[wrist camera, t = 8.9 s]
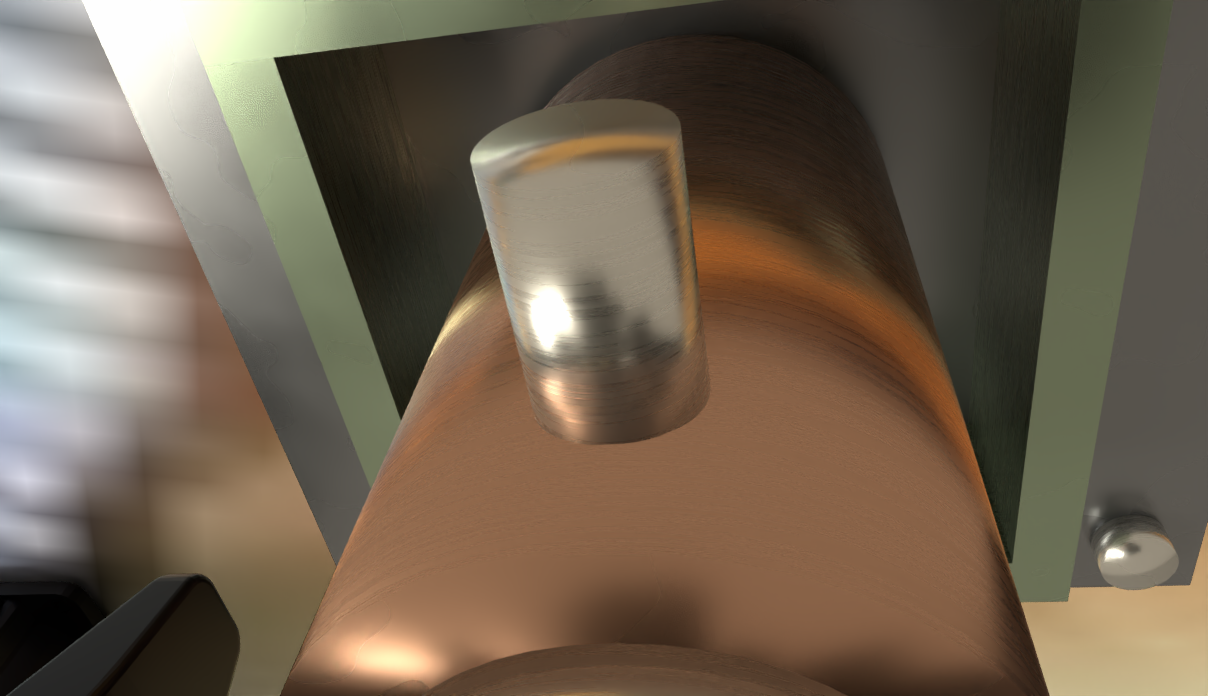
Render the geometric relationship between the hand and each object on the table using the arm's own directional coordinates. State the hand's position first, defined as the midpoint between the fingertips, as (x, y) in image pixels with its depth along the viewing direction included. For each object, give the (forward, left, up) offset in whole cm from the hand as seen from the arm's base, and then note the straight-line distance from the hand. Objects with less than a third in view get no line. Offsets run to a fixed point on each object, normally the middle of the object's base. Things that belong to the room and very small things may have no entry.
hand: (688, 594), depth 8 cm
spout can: (0, 0, -7) cm, 7 cm away
